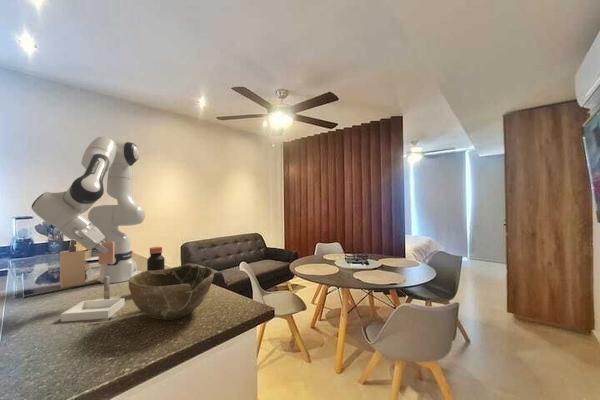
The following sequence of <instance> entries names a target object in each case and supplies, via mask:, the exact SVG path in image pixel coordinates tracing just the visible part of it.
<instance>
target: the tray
mask: <svg viewBox="0 0 600 400" xmlns="http://www.w3.org/2000/svg"><path fill="white" fill-rule="evenodd" d="M125 303H126V302H125V298H122V297H121V298H120V299H105V300H95V299H93V300H92V299H91V300H82V301H81V302H79V303H77V304H75V305H74V306H72V307H70V308H69V309H67V310H65V311H63V312H61V313H60V322H63V323H65V322H75V321H76V322H77V321H87V322H83V324H87V323H88V324H89V323H101V322H109V321H110V320H112V317H111V316H113V315H114V314H116V312H118V311H119V310H121V308H123V307H124V306H125ZM89 320H90V321H89ZM91 320H92V321H91Z"/></svg>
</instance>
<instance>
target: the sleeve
mask: <svg viewBox="0 0 600 400" xmlns="http://www.w3.org/2000/svg"><path fill="white" fill-rule="evenodd" d="M100 244H102V245H103V246H104V247H105V248H107V249H109V252H107V253H106V254H104V253H103V252H101V251H99V250H98V265H101V264H110V263H113V262H114V242H100Z"/></svg>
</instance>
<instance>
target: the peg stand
mask: <svg viewBox="0 0 600 400" xmlns="http://www.w3.org/2000/svg"><path fill="white" fill-rule="evenodd" d="M121 298H122V295H115V296H110V283H109V276H106V277H104V283H103V297H101V298H95V299H94V300H105V299H121Z"/></svg>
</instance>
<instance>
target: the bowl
mask: <svg viewBox="0 0 600 400" xmlns="http://www.w3.org/2000/svg"><path fill="white" fill-rule="evenodd" d="M214 277H215V272H214V269H212V268H211V267H207V266H205V267H200V266H199V265H189V264H188V265H187V264H185V265H180V266H175V267H174V266H173V267H172V268H171V267H170V268H165V270H155V271H152V270H150V271H147V270H145V271H142V272H141V273H139V274H137V275H134V276H132V277H131V278H130V280H128V289H129V293H130V295H131V299H132V302H133V303H134V305H135V306H136V307H137V309H138V310H139V311H141V312H143V314H144V315H145V314H146V315H147V316H148V317H150V318H153V319H158V320H166V321H174V320H177V319H180V318H183V317H186V316H187V315H188V314H190V313H191V312H193V311H194V310H196V309H197V308H198V307H200V305H201V304H202V303H203V301H204V300H205V298H206V297H207V296H208V293H209V292H210V289H211V286H212V283H213V280H214Z"/></svg>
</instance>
